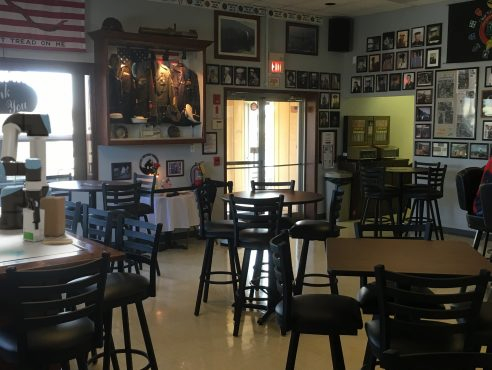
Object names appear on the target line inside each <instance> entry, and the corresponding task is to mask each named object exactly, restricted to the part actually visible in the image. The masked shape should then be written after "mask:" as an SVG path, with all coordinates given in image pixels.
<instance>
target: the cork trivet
mask: <svg viewBox="0 0 492 370" xmlns="http://www.w3.org/2000/svg"><path fill="white" fill-rule="evenodd" d="M73 241H74V239H73V238H69V237H51V238H49V237H48V238H44V240H42V244H43V245H47V246H64V244H65V245H69V243H70V244H72V243H73Z"/></svg>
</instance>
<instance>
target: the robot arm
mask: <svg viewBox="0 0 492 370" xmlns="http://www.w3.org/2000/svg"><path fill="white" fill-rule="evenodd" d="M1 132H2V134H3V135H2V141H1V142H2V143H1V151H0V177H25V179H24V180H25V183H23V184H24V185H23V184H21V185H11V186H5V187H3V188H1V190H0V230H21V229H23V217H24V209H31V210H33V211H34V212H33V220H34V222H32V223H33V236H39V222H40V221H41V220H40V199H41V198H44V197H48V196H52V187H50V184H49V183H48V182H47V139H48V138H49V137H50V136H49V135H50V134H52V128H51V120H50V115H49V114H48V113H47V112H41V111H39V112H36V111H17V112H14V113H12V114H10V115H9V116H8V117H6V118H5V120H4V122H3V123H2V126H1ZM22 133H23V134H26V137H27V138H28V139H29V158H26V159H25V161H24V160H22V161H19V160H17V157H18V145H19V144H18V143H19V136H20V135H21V134H22ZM24 186H25V187H24Z"/></svg>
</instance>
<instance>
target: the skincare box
mask: <svg viewBox="0 0 492 370" xmlns="http://www.w3.org/2000/svg"><path fill="white" fill-rule="evenodd" d="M33 212H34V211H33V210H31V209H23V213H24V217H23V228H22V240H24V241H29V242H33V243H35V242H40V241H43V240H45V236H44V212H45V210H42V209H40V220H41V221H40V222H39V236H33V223H32V222H34V220H33Z"/></svg>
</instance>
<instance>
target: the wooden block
mask: <svg viewBox="0 0 492 370" xmlns="http://www.w3.org/2000/svg"><path fill="white" fill-rule="evenodd" d="M40 209H42V210H45V212H44V237H53V236H58V237H60V236H63V235H65V234H66V196H55V195H54V196H53V195H51V196H48V197H44V198H41V199H40Z"/></svg>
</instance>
